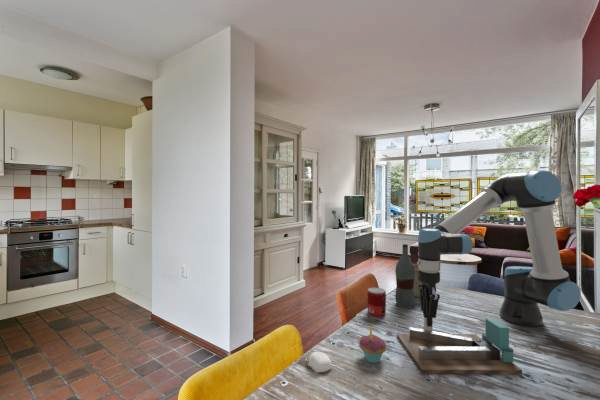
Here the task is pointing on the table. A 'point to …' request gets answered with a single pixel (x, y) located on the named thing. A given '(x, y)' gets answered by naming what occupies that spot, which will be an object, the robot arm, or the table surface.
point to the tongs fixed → (461, 352)
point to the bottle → (405, 280)
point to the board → (455, 365)
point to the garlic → (319, 362)
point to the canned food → (377, 302)
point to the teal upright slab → (499, 338)
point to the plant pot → (416, 282)
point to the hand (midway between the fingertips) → (427, 333)
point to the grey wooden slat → (440, 337)
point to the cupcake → (372, 347)
